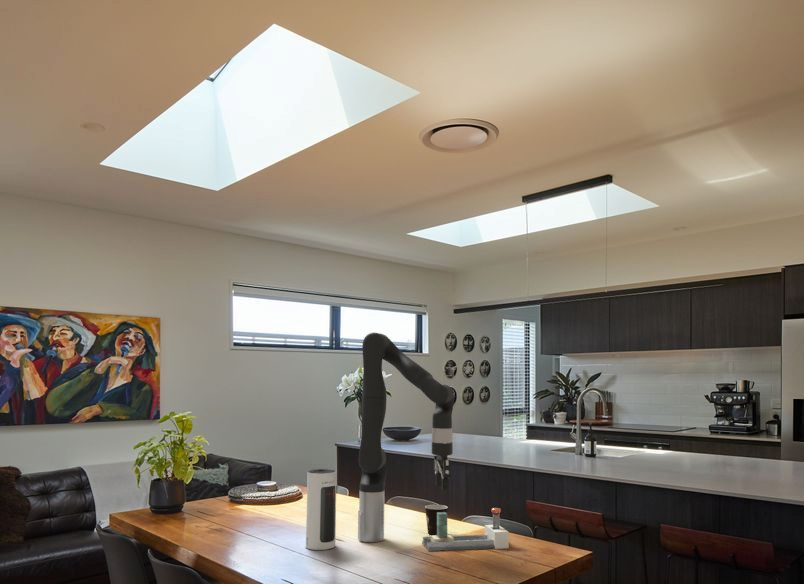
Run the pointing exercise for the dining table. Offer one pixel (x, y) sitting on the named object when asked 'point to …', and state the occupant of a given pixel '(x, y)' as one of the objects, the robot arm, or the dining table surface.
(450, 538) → the carriage
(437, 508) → the coffee mug
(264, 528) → the dining table surface
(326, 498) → the speaker
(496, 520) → the gauge plunger
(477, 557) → the dining table surface
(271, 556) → the dining table surface
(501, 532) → the end cabinet
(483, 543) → the rail bed
